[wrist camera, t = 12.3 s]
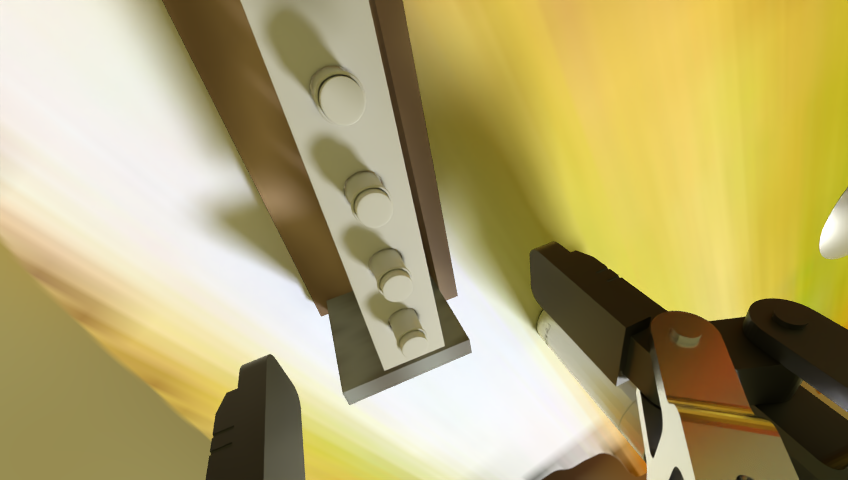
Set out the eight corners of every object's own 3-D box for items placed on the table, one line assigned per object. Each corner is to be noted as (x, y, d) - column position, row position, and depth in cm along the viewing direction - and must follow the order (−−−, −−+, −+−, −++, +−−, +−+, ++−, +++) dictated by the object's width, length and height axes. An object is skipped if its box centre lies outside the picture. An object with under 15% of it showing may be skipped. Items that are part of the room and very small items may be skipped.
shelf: (337, -190, 19) (394, -384, 10) (435, 262, 37) (489, 344, 27) (91, -156, 17) (-129, -364, 8) (319, 306, 35) (335, 410, 25)
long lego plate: (400, 258, 33) (459, 372, 22) (354, 275, 32) (392, 401, 22) (300, -112, 19) (331, -277, 8) (213, -98, 18) (127, -263, 8)
